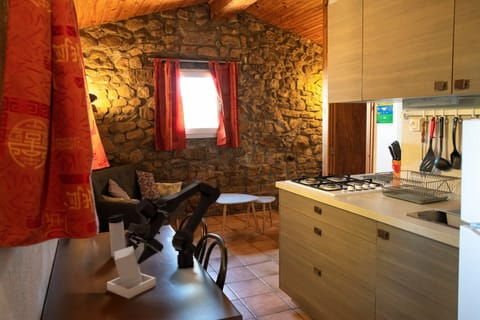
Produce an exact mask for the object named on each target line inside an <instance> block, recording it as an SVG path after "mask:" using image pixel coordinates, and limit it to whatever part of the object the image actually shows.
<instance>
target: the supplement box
mask: <svg viewBox="0 0 480 320" xmlns="http://www.w3.org/2000/svg"><path fill="white" fill-rule="evenodd" d="M135 251H136V250H134V248H133V246H131V247H128V248H126V247H125V248H124V249H121V250H118V251H115V252H114V257H115V259H114V263H115V267H116V269H117V273H118V276H119V277H120V279H121V283H122V286H123V287H124V288H129V287H132V286H135V285H138V284H141V283H142V278H141V273H142V272H141V270H140V266H139V265H140V264H138V263H137V262H138V259H137V255H136V252H135Z"/></svg>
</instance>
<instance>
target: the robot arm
mask: <svg viewBox="0 0 480 320" xmlns="http://www.w3.org/2000/svg"><path fill="white" fill-rule="evenodd" d="M196 194H199V201H198V204H197V205H196V207H195V208H194V210H193V212H192V214H191V215H190V217H189V218H188V221H187V222H186V224H185V225H184V226H183V228H181V229H179V228H178V229H176V231H175V233H174V234H173V236H172V239H171V245H172V248H174V252H177V253H178V254H177V256H176V259H177V260H176V261H177V267H178V269H192V268H195V260H194V254H196V253H197V250H198V247H197V246H196V245H195V244H194V241H195V239H194V237H195V235H194V234H195V232H196V231H197V229H198V227H199V225H200V223H201V222H202V220H203V219H204V216H205V215H206V214H207V211H208V210H209V208H210V207H211V206H212V205H213V204H215V203H216V202H217V201H218V200H219V198H220V197H221V190H220V188H219V186H214V185H209V184H207V183H206V182H203V181H199V180H195V181H193V182H192V183H191V184H189V185H187V186H186V187H184V188H182V189H181V190H179V191H177V192H176V193H174V194H169V195H166V196H162V197H160V198H158V200H157V201H154V202H153V201H152V200H151V198H150V197H148V196H147V197H146V196H145V197H144V199H142V200H140V201H139V202H137V204H136V205H135V207H134V210H135V212H137V213H138V214H139V215H140V216H141V217H142V218H144V219H145V220H147V222H146V223H144V222H143V223H140V224H136V223H132V222H131V223H129V227H128V229H127V231H126V232H125V233H124V240H126V241H125V242H126V245H125V248H128V247H131V246H133V248H134V251H136V250H137V249H138V248H139V245H140V244H143V251H142V252H141V254H140V255H139V257H138V259H137V261H138V262H137V263H138V265H141V264H142V263H144V262H145V261H146V260H148V259H150V258H151V257H152V256H155V255H156V254H159V253H162V252H163V250H164V244H163V243H161V242H160V241H159V240H158V239H157V238H156V236H157V235H160V234H161V233H162V232H160V231H161V228H162V227H163V225H164V224H165V222H167V223H171V218H170V215H169V214H172V213H174V212H176V210H177V209H179V208H180V205H182V203H183V202H185V201H187V200H189V199H190V198H192V197H194V196H195V195H196ZM165 213H167V214H165Z"/></svg>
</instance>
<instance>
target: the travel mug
mask: <svg viewBox="0 0 480 320" xmlns="http://www.w3.org/2000/svg"><path fill="white" fill-rule="evenodd" d="M123 217H124V214H120V213H119V214H115V215H111V216H109V217H108V226H109V227H108V228H109V229H108V230H109V241H110V253H111V259H114V260H115V257H114V252H115V251H118V250H121V249H124V248H126V244H125V242H126V241H125V236H124V235H125V232H124V231H125V230H124V229H125V227H124V218H123Z"/></svg>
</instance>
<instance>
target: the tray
mask: <svg viewBox="0 0 480 320" xmlns="http://www.w3.org/2000/svg"><path fill="white" fill-rule="evenodd" d="M141 278H142V283H141V284H138V285H135V286H132V287H129V288H124V287H123V286H122V283H121V279H120V276H119V277H117V278H114V279H112V280H109V281H107V282H106V289H107V291H109V292H111V293H114V294H115V295H119V296H121V297H123V298H126V299H131V298H133V297H134V296H137V295H139V294H142V293H143V292H145V291H148V290H149V289H152V288H154V287H156V286H157V282H156V277H154V276H151V275H148V274H144V273H142V272H141Z"/></svg>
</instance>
